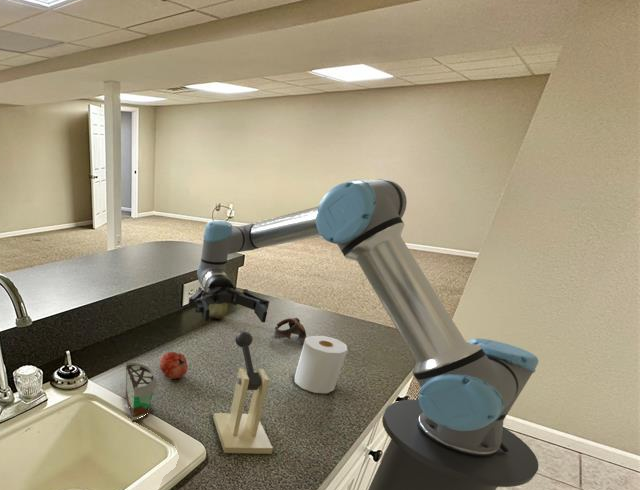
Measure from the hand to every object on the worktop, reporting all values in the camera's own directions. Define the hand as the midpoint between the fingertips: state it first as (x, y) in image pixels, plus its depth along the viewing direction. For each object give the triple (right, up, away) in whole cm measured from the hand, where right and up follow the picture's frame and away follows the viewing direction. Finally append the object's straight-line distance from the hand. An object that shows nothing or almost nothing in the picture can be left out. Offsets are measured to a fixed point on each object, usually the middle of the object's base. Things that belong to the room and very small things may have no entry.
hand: (236, 316), depth 95 cm
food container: (-22, -22, +2) cm, 31 cm away
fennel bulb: (+7, +6, +53) cm, 54 cm away
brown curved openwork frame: (+28, -3, +39) cm, 48 cm away
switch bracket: (-1, -27, -6) cm, 28 cm away
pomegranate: (-13, -15, +16) cm, 25 cm away
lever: (0, -11, -8) cm, 14 cm away
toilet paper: (+25, -17, +15) cm, 33 cm away
